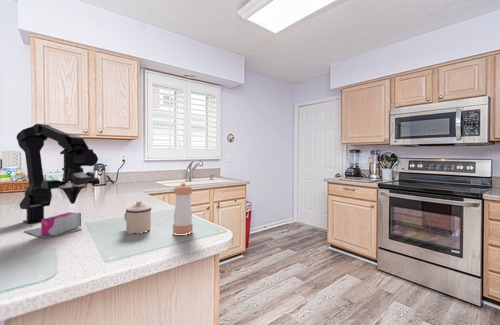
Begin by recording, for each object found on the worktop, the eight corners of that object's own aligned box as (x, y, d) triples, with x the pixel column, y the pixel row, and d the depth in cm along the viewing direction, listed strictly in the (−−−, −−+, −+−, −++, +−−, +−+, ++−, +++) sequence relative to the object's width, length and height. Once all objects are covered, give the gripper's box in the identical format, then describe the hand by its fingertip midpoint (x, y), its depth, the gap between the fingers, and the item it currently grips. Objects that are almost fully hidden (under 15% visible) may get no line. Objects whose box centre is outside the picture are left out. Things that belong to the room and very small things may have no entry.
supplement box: (81, 212, 96) (54, 220, 85) (81, 226, 96) (55, 236, 85) (68, 211, 97) (40, 219, 85) (68, 225, 97) (40, 235, 86)
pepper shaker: (168, 234, 90) (169, 183, 89) (181, 229, 96) (181, 182, 96) (184, 237, 87) (185, 185, 86) (196, 231, 94) (196, 183, 93)
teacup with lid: (156, 229, 96) (156, 200, 95) (137, 235, 87) (137, 204, 87) (134, 225, 100) (134, 198, 100) (114, 231, 92) (115, 201, 92)
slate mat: (24, 231, 90) (24, 230, 90) (61, 224, 100) (61, 223, 100) (44, 239, 82) (44, 238, 82) (81, 230, 93) (81, 229, 93)
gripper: (55, 166, 84) (55, 210, 85) (107, 165, 101) (107, 202, 101) (40, 165, 90) (40, 206, 90) (92, 164, 106) (92, 199, 107)
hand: (72, 203), depth 97 cm, fingers closed
